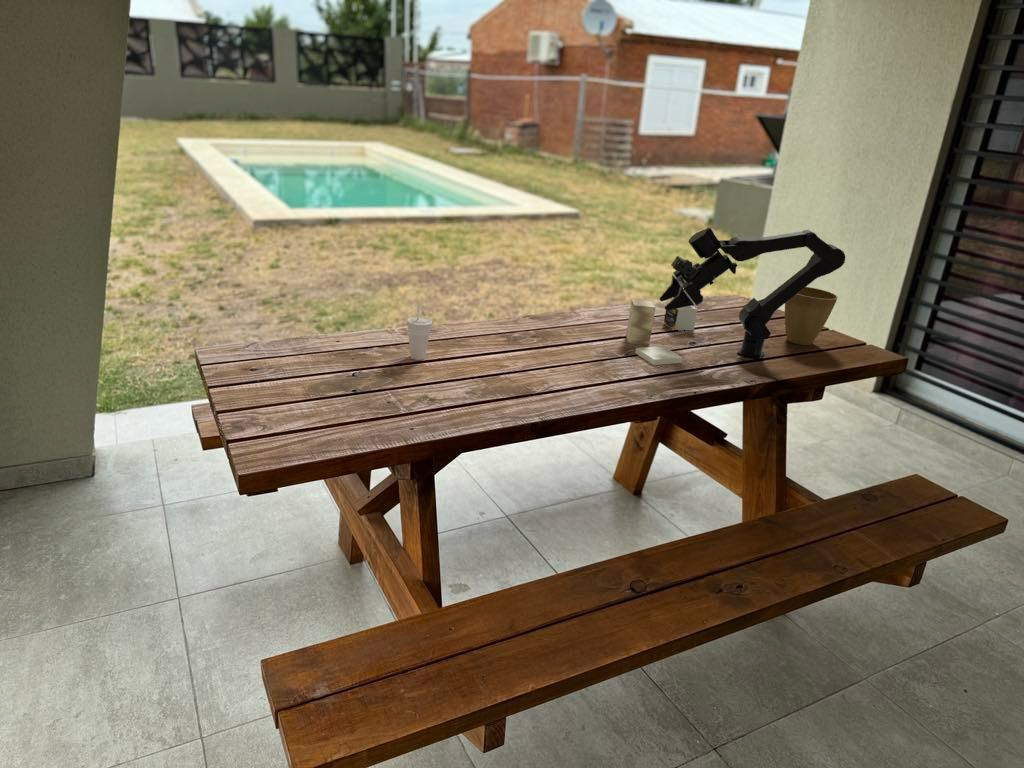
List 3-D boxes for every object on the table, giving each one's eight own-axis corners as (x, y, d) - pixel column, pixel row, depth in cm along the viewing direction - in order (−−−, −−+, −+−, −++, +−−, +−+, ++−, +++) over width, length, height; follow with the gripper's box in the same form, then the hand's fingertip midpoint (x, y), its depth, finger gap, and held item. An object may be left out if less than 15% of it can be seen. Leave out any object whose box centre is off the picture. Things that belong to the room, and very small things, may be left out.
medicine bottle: (662, 323, 235) (669, 287, 230) (682, 323, 237) (689, 287, 233) (673, 331, 229) (680, 293, 224) (694, 330, 231) (701, 293, 226)
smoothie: (415, 350, 191) (418, 298, 186) (435, 357, 189) (438, 304, 183) (399, 357, 186) (401, 303, 181) (420, 363, 183) (422, 309, 178)
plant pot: (829, 352, 223) (843, 301, 217) (779, 345, 225) (791, 294, 219) (818, 337, 237) (831, 289, 231) (771, 331, 239) (782, 282, 232)
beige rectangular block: (645, 340, 217) (652, 301, 213) (648, 347, 212) (655, 307, 207) (625, 338, 217) (631, 299, 213) (627, 345, 212) (634, 305, 207)
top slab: (662, 351, 207) (663, 346, 207) (681, 362, 200) (682, 357, 199) (635, 353, 204) (636, 347, 203) (653, 364, 196) (654, 359, 195)
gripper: (686, 241, 212) (641, 274, 216) (699, 255, 195) (650, 291, 199) (708, 271, 215) (663, 303, 219) (723, 287, 198) (674, 322, 202)
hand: (662, 304), depth 210 cm, fingers open, 9 cm apart
